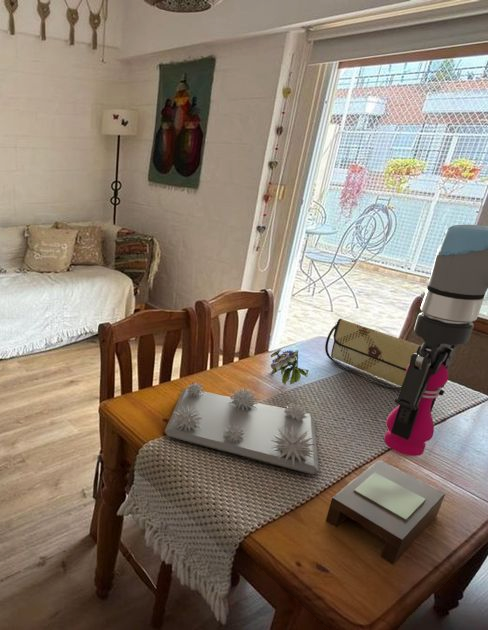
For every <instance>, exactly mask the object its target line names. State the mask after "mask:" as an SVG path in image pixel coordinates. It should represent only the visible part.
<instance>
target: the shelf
mask: <svg viewBox="0 0 488 630" xmlns="http://www.w3.org/2000/svg"><path fill="white" fill-rule="evenodd" d="M445 496H446V492H444V491H442V490H440V489H439V488H437V487H435V486H432V485H431V484H429V483H427V482H424V481H423V480H420V479H419V478H416V477H415V476H412V475H411V474H409V473H406V472H404V471H402V470H400V469H399V468H396V467H394V466H393V465H390V464H389V463H386V462H385V461H383V460H381V459H377V461H375V462H374V463H373V464H371V465H370V466H369V467H368V468H367V469H365V470H364V471H363V472H362V473H360V474H359V475H358V476H357V477H356V478H354V479H353V480H351V481H350V482H349V483H348V484H347V485H346V486H344V487H343V488H341V490H340V491H338V492H336V494H334V495H333V496H332V497H331V500H330V503H329V508H328V511H327V515H326V518H325V521H326V522H327V523H329V524H330V525H331V526H333V527H335V528H337V527H338V526H339V525H340V524H341V523H343V521H345V520H346V519H347V518H350V519H351V520H352V521H354V522H356V523H358V524H360V525H361V526H363V527H364V528H366V529H367V530H369V531H371V532H372V533H374V534H376V535H377V536H379V537H381V538H382V539H383V540H385V543H384V547H383V549H382V553H381V556H380V557H381V558H382V559H383V560H385V561H387V562H388V563H390V564H391V565H395V563H397V561H398V560H399V559H400V558H401V557H402V556H403V554H404V553H406V552H407V550H408V549H409V548H410V547H411V546H412V545H413V543H414V542H415V541H416V540H417V539H418V538H419V536H421V534H422V533H423V532H424V531H425V530H426V529H427V528H428V527H429V525H431V524H432V522H433V521H434V520H435V519H436V518H437V516H438V514H439V512H440V509H441V508H442V504H443V501H444V499H445Z"/></svg>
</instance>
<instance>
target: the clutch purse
mask: <svg viewBox="0 0 488 630" xmlns="http://www.w3.org/2000/svg"><path fill="white" fill-rule="evenodd" d="M332 334H333V343H332V348H331V354H329V342H330V339H331V337H332ZM420 345H421V344H416V343H414V342H411V341H408V340H405V339H403V338H399V337H396V336H393V335H390V334H387V333H385V332H381V331H378V330H375V329H372V328H371V327H366V326H363V325H360V324H357V323H355V322H351V321H349V320H346V319H343V318H339V319H338V320H337V321H336V322H335V324H334V326H333V327H332V328H331V330H330V331H329V333H328V335H327V337H326V340H325V344H324V350H325V354H326V356H327V357H328V359H329V360H330V361H331V362H333V363H334V364H335V365H337V366H338V367H340V368H341V369H343V370H345V371H347V372H349V373H350V374H353V375H355V376H356V377H358V376H360V377H363V378H365V379H367V380H370V381H372V382H373V383H372V382H371V383H372V384H374V383H375V384H374V385H377V386H380V387H383V388H386V389H390V390H399V389H400V390H401V387H402V384H403V382H404V379H405V376H406V369H407V367H408V365H409V364H410V360H411V355H413V354H417V353H416V352H417V350H418V347H419V346H420ZM337 361H339V362H341V363H344V364H347V365H349V366H351V367H353V368H356V369H358V370H361V371H363V372H365V373H368V374H370V375H373V376H375V377H378V378H380V379H382V380H385V381H387V382H390V383H392V384H394V385H396V386H399V387H392V386H388V385H386V384H382V383H380V382H377V381H374V380H371V379H370V378H367V377H365V376H363V375H361V374H359V373H357V372H354V371H353V370H351V369H349V368H347V367H345V366H344V365H342V364H341V363H339V362H337ZM360 377H359V378H360ZM365 379H364V380H365ZM367 380H366V381H367Z"/></svg>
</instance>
